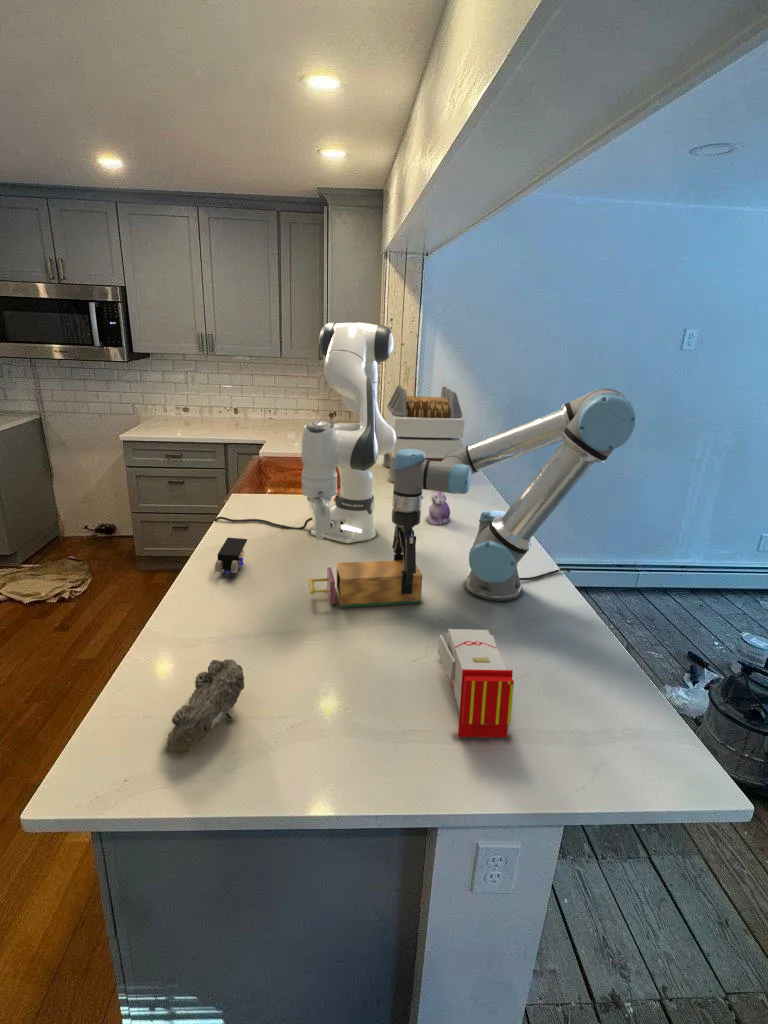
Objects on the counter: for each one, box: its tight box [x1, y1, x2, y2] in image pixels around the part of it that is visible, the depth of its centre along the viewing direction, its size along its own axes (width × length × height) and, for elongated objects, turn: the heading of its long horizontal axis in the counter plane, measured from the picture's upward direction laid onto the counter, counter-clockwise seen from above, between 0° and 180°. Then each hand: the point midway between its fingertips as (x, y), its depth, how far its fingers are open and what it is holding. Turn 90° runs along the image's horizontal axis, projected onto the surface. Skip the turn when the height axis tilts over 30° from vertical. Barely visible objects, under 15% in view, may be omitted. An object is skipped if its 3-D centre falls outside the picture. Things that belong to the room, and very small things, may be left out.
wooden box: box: [335, 559, 423, 609], centre depth 155 cm, size 22×10×8 cm, turn 101°
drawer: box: [307, 566, 341, 605], centre depth 153 cm, size 26×9×6 cm, turn 101°
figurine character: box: [214, 537, 248, 578], centre depth 166 cm, size 7×8×15 cm
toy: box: [437, 628, 515, 738], centre depth 117 cm, size 12×13×30 cm
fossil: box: [166, 658, 245, 754], centre depth 106 cm, size 22×10×15 cm
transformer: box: [383, 384, 465, 483], centre depth 268 cm, size 34×33×41 cm
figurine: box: [427, 491, 451, 525], centre depth 211 cm, size 9×10×15 cm
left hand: (319, 537), depth 147 cm, fingers closed
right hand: (402, 584), depth 156 cm, fingers closed on wooden box, 10 cm apart
